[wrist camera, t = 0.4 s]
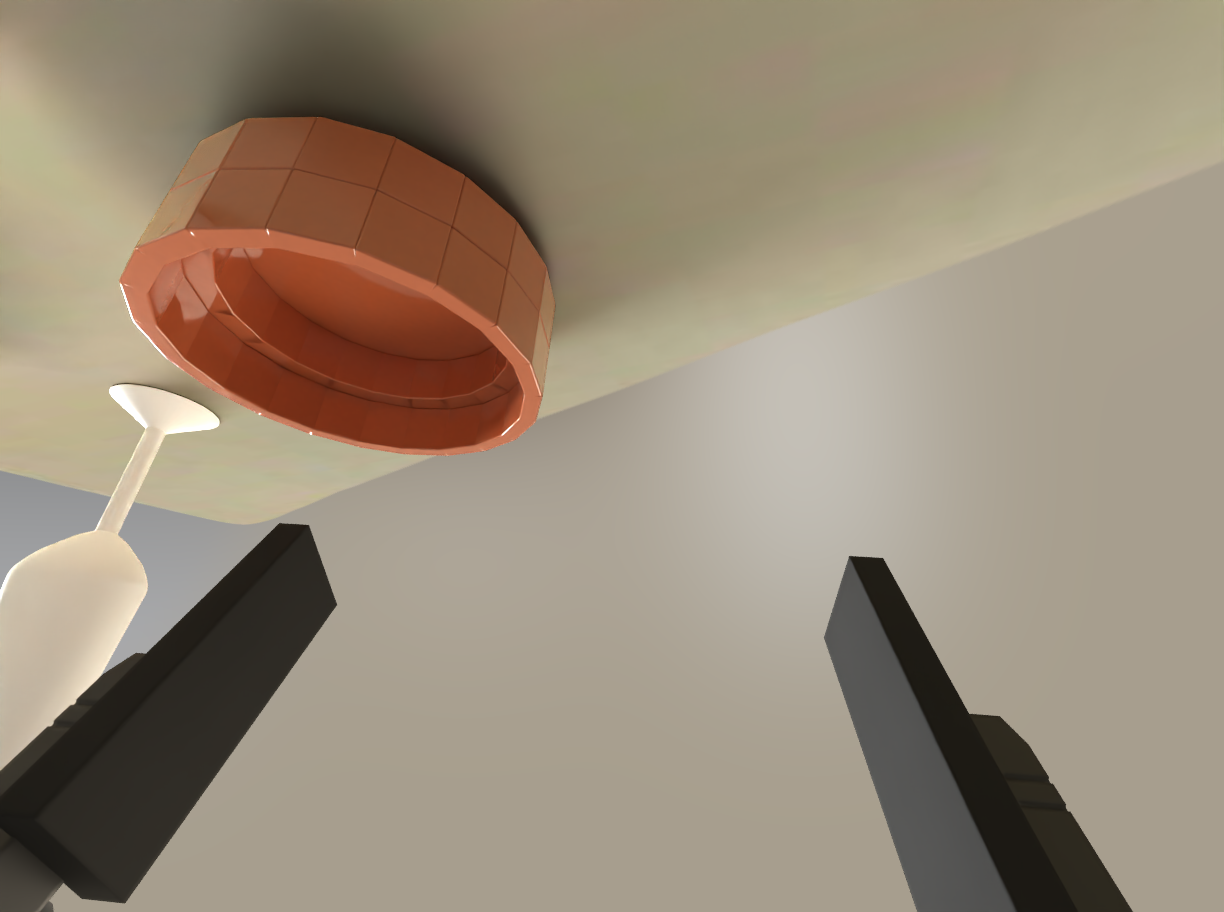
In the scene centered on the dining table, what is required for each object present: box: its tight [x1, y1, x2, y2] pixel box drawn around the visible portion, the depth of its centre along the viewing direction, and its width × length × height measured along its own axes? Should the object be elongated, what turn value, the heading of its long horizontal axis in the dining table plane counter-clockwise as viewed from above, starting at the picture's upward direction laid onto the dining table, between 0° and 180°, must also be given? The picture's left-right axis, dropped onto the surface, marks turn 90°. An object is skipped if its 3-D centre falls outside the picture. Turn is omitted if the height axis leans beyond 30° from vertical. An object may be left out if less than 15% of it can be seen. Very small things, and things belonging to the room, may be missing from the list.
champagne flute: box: [0, 384, 220, 771], centre depth 34 cm, size 7×7×24 cm
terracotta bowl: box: [119, 116, 555, 456], centre depth 24 cm, size 16×16×6 cm
